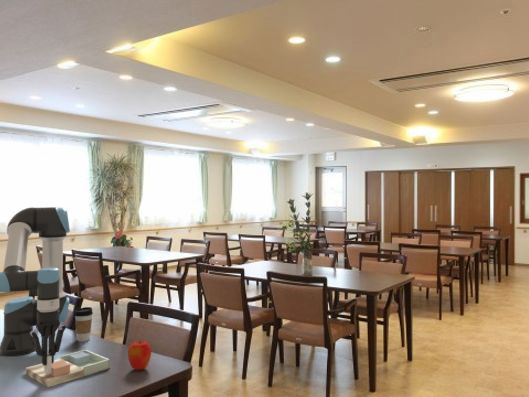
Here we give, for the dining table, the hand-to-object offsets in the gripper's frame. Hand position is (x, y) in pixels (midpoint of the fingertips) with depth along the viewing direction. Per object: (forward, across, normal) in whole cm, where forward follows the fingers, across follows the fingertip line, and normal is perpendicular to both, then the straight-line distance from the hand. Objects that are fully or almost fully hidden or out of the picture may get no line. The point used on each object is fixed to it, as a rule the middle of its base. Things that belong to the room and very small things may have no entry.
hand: (47, 372), depth 171 cm
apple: (+4, +30, -15) cm, 34 cm away
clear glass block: (+3, +18, +10) cm, 20 cm away
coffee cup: (+4, +35, +39) cm, 53 cm away
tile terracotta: (+1, +4, 0) cm, 4 cm away
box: (+4, +18, +5) cm, 19 cm away
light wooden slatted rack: (+4, +5, +5) cm, 8 cm away
